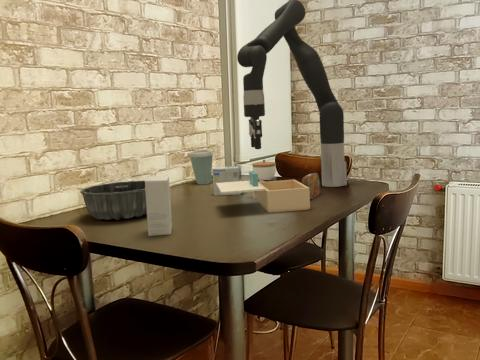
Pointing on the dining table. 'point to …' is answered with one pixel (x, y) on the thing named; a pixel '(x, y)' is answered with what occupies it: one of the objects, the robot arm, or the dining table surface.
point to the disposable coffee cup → (202, 165)
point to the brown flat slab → (312, 184)
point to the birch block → (255, 193)
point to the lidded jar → (264, 170)
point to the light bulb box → (225, 177)
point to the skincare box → (158, 205)
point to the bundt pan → (116, 200)
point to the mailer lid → (241, 185)
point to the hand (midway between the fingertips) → (256, 148)
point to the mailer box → (284, 196)
